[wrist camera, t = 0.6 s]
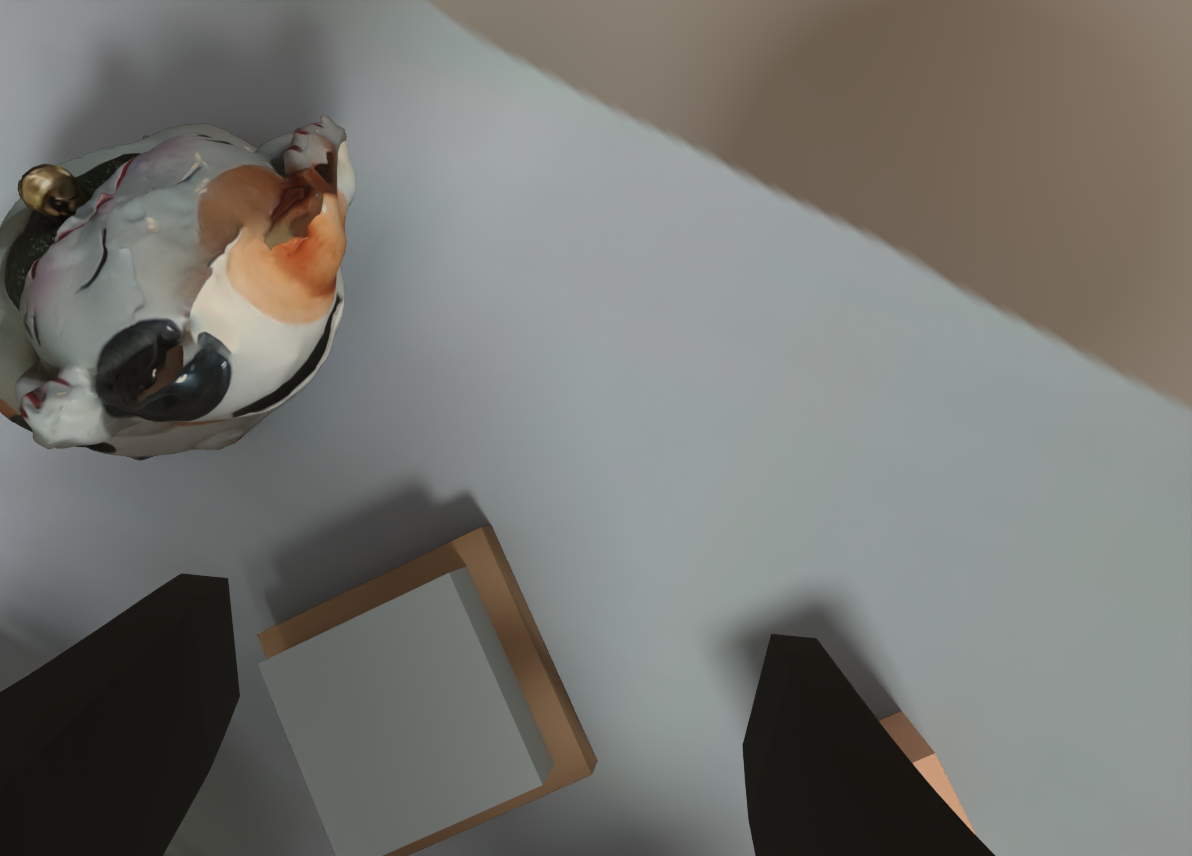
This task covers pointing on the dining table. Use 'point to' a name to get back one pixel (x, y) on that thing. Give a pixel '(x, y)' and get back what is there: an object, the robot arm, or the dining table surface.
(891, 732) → the terracotta block
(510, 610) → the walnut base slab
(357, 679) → the slate top slab
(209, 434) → the lucky cat figurine
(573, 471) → the dining table surface
